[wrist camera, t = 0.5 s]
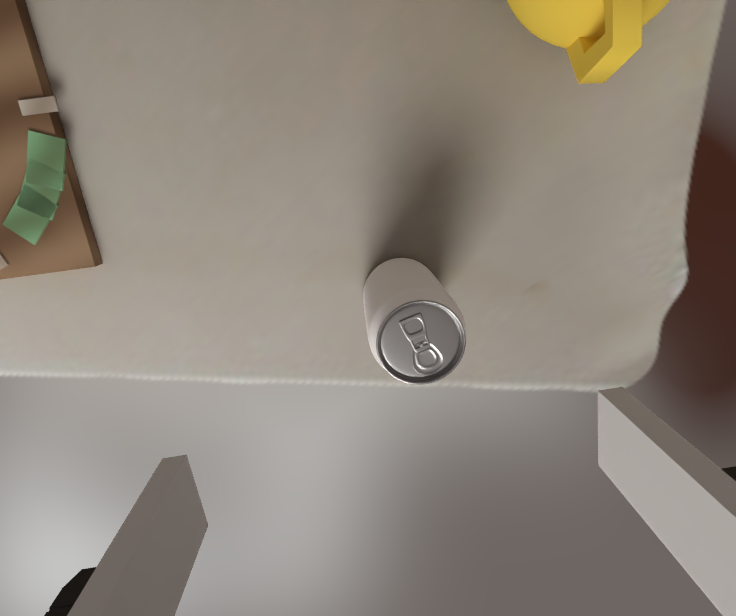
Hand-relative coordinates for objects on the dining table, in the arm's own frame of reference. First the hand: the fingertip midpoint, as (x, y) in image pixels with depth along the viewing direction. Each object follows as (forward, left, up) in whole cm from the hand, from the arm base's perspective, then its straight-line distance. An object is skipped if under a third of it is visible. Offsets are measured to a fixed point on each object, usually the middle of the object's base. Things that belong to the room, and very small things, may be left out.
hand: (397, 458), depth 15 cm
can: (+2, +3, -27) cm, 27 cm away
